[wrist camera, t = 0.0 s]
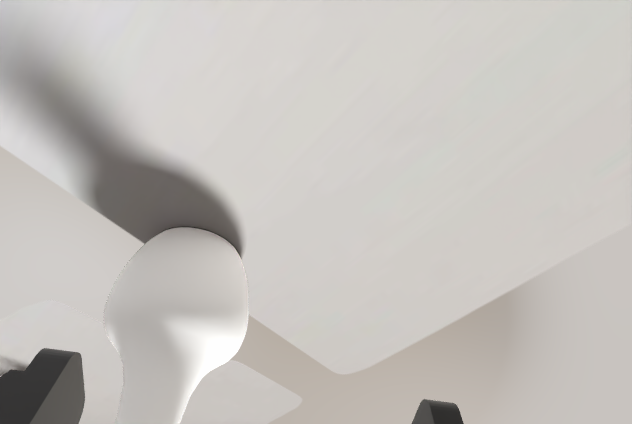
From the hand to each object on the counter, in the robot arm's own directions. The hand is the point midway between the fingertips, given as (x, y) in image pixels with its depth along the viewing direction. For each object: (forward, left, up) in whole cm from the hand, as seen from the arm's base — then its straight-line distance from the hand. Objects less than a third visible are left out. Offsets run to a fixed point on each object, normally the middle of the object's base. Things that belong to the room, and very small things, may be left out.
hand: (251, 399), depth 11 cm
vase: (+26, -35, -32) cm, 53 cm away
